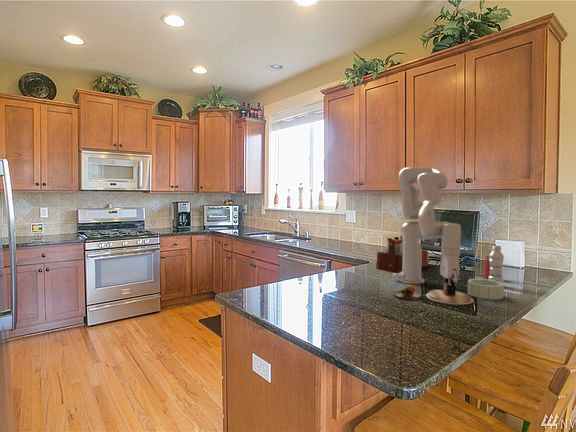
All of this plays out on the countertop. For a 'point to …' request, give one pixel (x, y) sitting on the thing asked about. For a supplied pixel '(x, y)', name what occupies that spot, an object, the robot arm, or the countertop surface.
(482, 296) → the bowl
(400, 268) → the milk bottle holder
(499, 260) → the plastic bottle
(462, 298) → the lid
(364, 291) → the countertop surface
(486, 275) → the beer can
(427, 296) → the pad
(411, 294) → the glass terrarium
